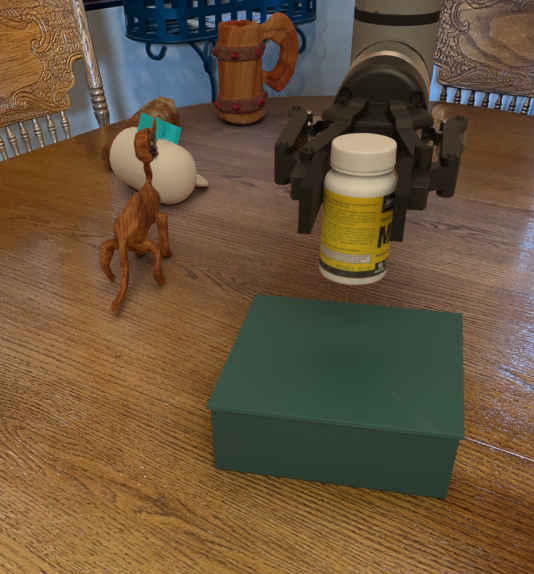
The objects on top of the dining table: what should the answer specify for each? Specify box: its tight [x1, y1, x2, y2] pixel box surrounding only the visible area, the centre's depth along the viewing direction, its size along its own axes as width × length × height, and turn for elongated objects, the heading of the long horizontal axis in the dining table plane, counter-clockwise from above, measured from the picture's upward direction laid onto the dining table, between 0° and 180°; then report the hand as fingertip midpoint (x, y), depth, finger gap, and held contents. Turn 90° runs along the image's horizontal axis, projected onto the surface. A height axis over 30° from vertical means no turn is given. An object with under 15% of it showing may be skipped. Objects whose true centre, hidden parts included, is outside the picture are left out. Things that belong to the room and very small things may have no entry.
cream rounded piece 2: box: [110, 112, 209, 205], centre depth 91 cm, size 12×9×12 cm
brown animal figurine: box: [98, 118, 174, 313], centre depth 70 cm, size 18×7×14 cm, turn 172°
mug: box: [211, 11, 300, 126], centre depth 113 cm, size 15×8×15 cm, turn 112°
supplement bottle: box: [318, 133, 398, 286], centre depth 45 cm, size 5×5×8 cm
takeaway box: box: [205, 293, 465, 500], centre depth 55 cm, size 18×16×6 cm
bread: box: [100, 96, 181, 168], centre depth 104 cm, size 6×19×6 cm, turn 161°
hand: (351, 214), depth 40 cm, fingers closed on supplement bottle, 5 cm apart
